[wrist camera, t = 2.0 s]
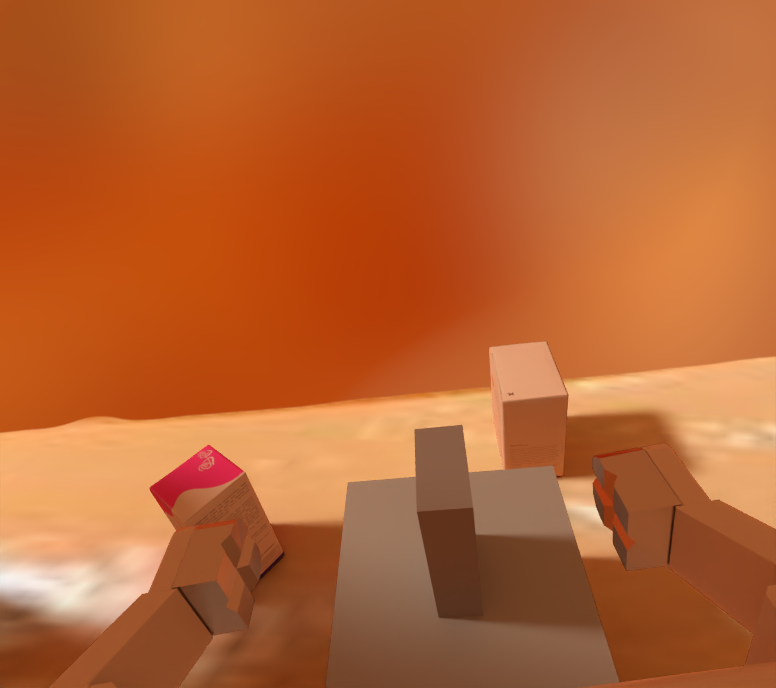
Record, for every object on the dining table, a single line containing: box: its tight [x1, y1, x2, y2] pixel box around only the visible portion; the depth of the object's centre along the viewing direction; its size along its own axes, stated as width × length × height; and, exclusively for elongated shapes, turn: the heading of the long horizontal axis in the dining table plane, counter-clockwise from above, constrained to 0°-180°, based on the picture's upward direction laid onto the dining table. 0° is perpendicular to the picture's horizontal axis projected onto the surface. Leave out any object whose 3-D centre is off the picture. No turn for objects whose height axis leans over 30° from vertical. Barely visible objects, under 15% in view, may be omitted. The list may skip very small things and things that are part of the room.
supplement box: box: [150, 445, 284, 580], centre depth 42 cm, size 6×6×11 cm
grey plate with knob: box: [325, 425, 619, 688], centre depth 27 cm, size 15×15×11 cm
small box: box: [489, 342, 568, 476], centre depth 47 cm, size 8×6×10 cm
